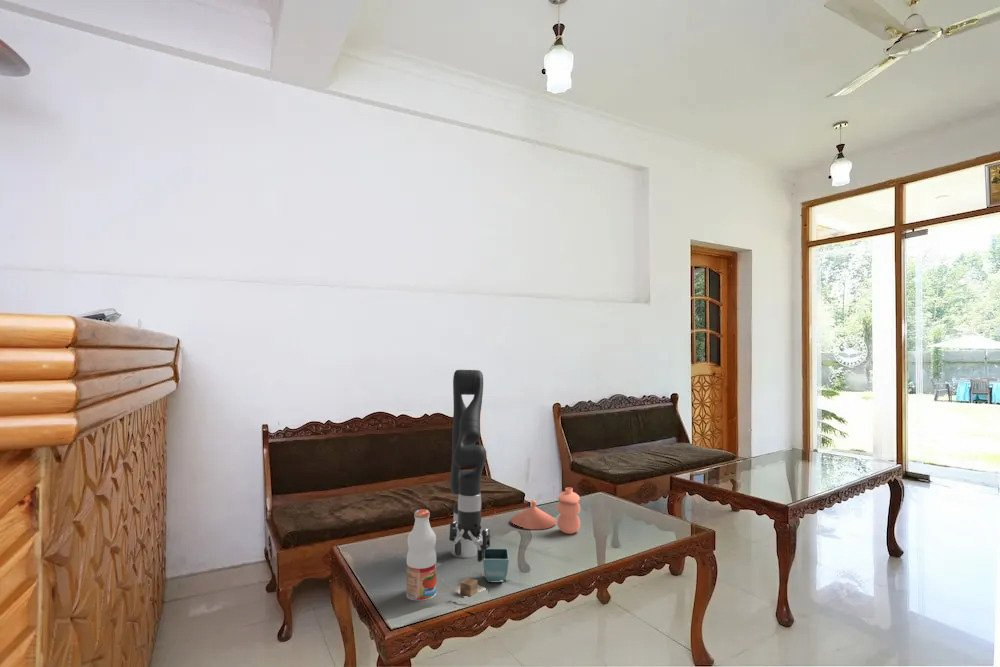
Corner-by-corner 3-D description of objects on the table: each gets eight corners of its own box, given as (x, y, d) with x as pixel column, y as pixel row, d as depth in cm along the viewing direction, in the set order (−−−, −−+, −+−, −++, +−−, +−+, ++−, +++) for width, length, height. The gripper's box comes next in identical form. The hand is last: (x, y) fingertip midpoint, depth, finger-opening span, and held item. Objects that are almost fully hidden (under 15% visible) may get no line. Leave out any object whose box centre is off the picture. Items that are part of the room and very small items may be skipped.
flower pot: (507, 573, 175) (507, 548, 175) (508, 585, 166) (509, 559, 166) (483, 573, 175) (483, 548, 175) (482, 586, 166) (483, 559, 166)
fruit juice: (412, 591, 162) (412, 506, 162) (439, 593, 161) (440, 507, 161) (401, 606, 153) (402, 516, 153) (431, 609, 151) (431, 517, 152)
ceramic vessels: (501, 521, 226) (501, 479, 226) (529, 509, 241) (530, 471, 242) (564, 542, 202) (564, 496, 203) (591, 528, 218) (591, 485, 218)
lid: (440, 600, 156) (440, 584, 156) (463, 583, 167) (463, 568, 167) (474, 612, 149) (474, 595, 149) (496, 593, 160) (496, 578, 160)
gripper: (444, 506, 159) (444, 557, 158) (481, 514, 152) (481, 567, 151) (458, 500, 165) (458, 549, 165) (494, 507, 158) (494, 558, 158)
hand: (469, 557), depth 158 cm, fingers open, 8 cm apart
